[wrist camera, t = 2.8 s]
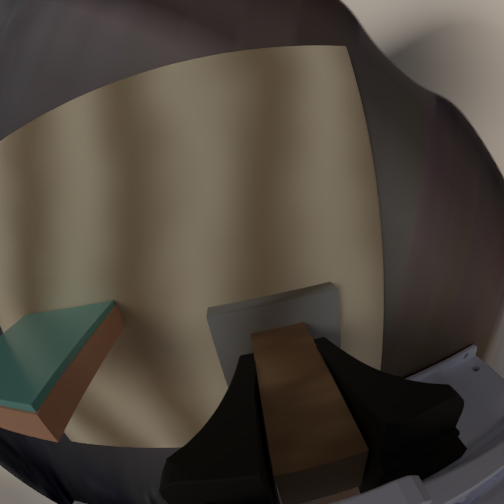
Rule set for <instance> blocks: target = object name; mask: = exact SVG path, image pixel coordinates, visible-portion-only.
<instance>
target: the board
mask: <svg viewBox="0 0 504 504" xmlns="http://www.w3.org/2000/svg"><path fill="white" fill-rule="evenodd" d="M326 282H331V283H332V284H333V285H334V286H335V287H336V288H337V289H338V300H339V315H340V334H341V349H342V350H343V351H345V352H346V353H348V354H349V355H351V356H353V357H354V358H356V359H358V360H359V361H361V362H363V363H365V364H367V365H369V366H371V367H373V368H375V369H378V370H381V358H382V343H383V318H384V274H383V249H382V233H381V221H380V210H379V201H378V192H377V184H376V177H375V170H374V163H373V157H372V151H371V146H370V140H369V135H368V130H367V125H366V120H365V115H364V111H363V107H362V102H361V98H360V94H359V90H358V86H357V82H356V79H355V75H354V72H353V68H352V65H351V61H350V58H349V55H348V51H347V48H346V46H288V47H273V48H261V49H252V50H244V51H236V52H230V53H223V54H217V55H212V56H207V57H202V58H197V59H192V60H188V61H183V62H179V63H175V64H171V65H167V66H164V67H160V68H157V69H153V70H150V71H147V72H143V73H140V74H137V75H134V76H131V77H128V78H125V79H122V80H120V81H117V82H114V83H111V84H109V85H106V86H104V87H101V88H99V89H96V90H94V91H91V92H89V93H87V94H85V95H82V96H80V97H78V98H76V99H74V100H71V101H69V102H67V103H65V104H63V105H61V106H59V107H57V108H55V109H53V110H51V111H49V112H48V113H46V114H44V115H42V116H40V117H38V118H37V119H35V120H33V121H31V122H30V123H28V124H26V125H25V126H23V127H21V128H20V129H18V130H17V131H15V132H13V133H12V134H10V135H9V136H7V137H6V138H4V139H3V140H1V141H0V326H1V328H2V331H3V333H4V332H5V331H6V330H8V329H9V328H10V327H11V326H12V325H14V324H15V323H16V322H17V321H18V320H20V319H21V318H22V317H23V316H25V315H26V314H32V313H39V312H45V311H52V310H58V309H64V308H71V307H77V306H83V305H89V304H95V303H100V302H106V301H112V300H113V301H114V304H115V305H118V308H119V310H120V313H121V316H122V318H123V321H124V324H125V327H124V328H123V330H122V332H121V333H120V335H119V336H118V338H117V340H116V341H115V343H114V344H113V346H112V348H111V349H110V351H109V353H108V354H107V356H106V357H105V359H104V361H103V362H102V364H101V366H100V367H99V369H98V371H97V373H96V374H95V376H94V378H93V379H92V381H91V383H90V385H89V386H88V388H87V390H86V392H85V393H84V395H83V397H82V399H81V401H80V402H79V404H78V406H77V408H76V410H75V411H74V413H73V415H72V417H71V419H70V421H69V423H68V425H67V426H66V428H65V430H64V433H65V434H66V435H67V436H68V438H69V439H70V440H71V441H73V442H80V443H88V444H96V445H107V446H120V447H144V448H168V447H183V446H184V445H186V444H187V443H188V442H189V441H190V440H191V439H192V438H193V437H194V436H195V435H196V434H197V433H198V432H199V431H200V430H201V429H202V427H203V426H204V425H205V424H206V423H207V421H208V420H209V419H210V417H211V416H212V415H213V413H214V412H215V410H216V409H217V407H218V406H219V404H220V402H221V401H222V399H223V397H224V395H225V393H226V391H227V389H228V386H227V383H226V380H225V377H224V374H223V371H222V368H221V364H220V361H219V358H218V355H217V352H216V348H215V345H214V342H213V338H212V335H211V332H210V328H209V325H208V322H207V318H206V315H207V309H208V307H213V306H219V305H224V304H229V303H234V302H239V301H244V300H249V299H254V298H259V297H264V296H269V295H273V294H278V293H283V292H287V291H292V290H296V289H301V288H305V287H309V286H314V285H318V284H322V283H326Z"/></svg>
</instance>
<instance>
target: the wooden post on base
mask: <svg viewBox="0 0 504 504" xmlns="http://www.w3.org/2000/svg"><path fill="white" fill-rule="evenodd" d="M206 318H207V322H208V325H209V328H210V332H211V335H212V338H213V342H214V345H215V348H216V352H217V355H218V358H219V361H220V364H221V368H222V371H223V374H224V377H225V380H226V383H227V386H228V387H229V385H230V383H231V380H232V378H233V375H234V373H235V370H236V367H237V363H238V359H239V357H240V356H241V355H245V354H250V353H254V359H255V362H256V372H257V378H258V385H259V391H260V397H261V403H262V409H263V416H264V422H265V428H266V434H267V440H268V446H269V452H270V457H271V463H272V469H273V475H274V478H275V481H276V484H277V487H278V490H279V493H280V496H281V499H282V502H283V504H297V503H302V502H306V501H311V500H315V499H319V498H322V497H326V496H330V495H333V494H336V493H340V492H343V491H346V490H349V489H352V488H355V487H358V486H361V482H362V478H363V474H364V470H365V466H366V461H367V456H368V452H369V449H368V447H367V445H366V443H365V441H364V439H363V437H362V435H361V433H360V431H359V429H358V427H357V425H356V423H355V421H354V419H353V417H352V415H351V413H350V411H349V409H348V407H347V405H346V403H345V401H344V399H343V397H342V395H341V393H340V391H339V389H338V387H337V385H336V383H335V381H334V379H333V377H332V375H331V373H330V371H329V369H328V367H327V365H326V363H325V361H324V360H323V358H322V356H321V354H320V352H319V351H318V349H317V348H316V347H317V346H316V344H315V342H314V340H313V339H317V338H321V337H325V338H327V339H328V340H329V341H331V342H332V343H333V344H335V345H336V346H338V347H339V348H340V349H341V334H340V315H339V300H338V289H337V288H336V287H335V286H334V285H333V284H332V283H331V282H326V283H322V284H318V285H314V286H309V287H305V288H301V289H296V290H292V291H287V292H283V293H278V294H273V295H269V296H264V297H259V298H254V299H249V300H244V301H239V302H234V303H229V304H224V305H219V306H213V307H208V309H207V315H206Z"/></svg>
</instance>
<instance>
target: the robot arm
mask: <svg viewBox="0 0 504 504" xmlns="http://www.w3.org/2000/svg"><path fill="white" fill-rule="evenodd" d="M313 340H314V342H315V344H316V346H317V347H316V348H317V349H318V351H319V352H320V354H321V356H322V358H323V360H324V361H325V363H326V365H327V367H328V369H329V371H330V373H331V375H332V377H333V379H334V381H335V383H336V385H337V387H338V389H339V391H340V393H341V395H342V397H343V399H344V401H345V403H346V405H347V407H348V409H349V411H350V413H351V415H352V417H353V419H354V421H355V423H356V425H357V427H358V429H359V431H360V433H361V435H362V437H363V439H364V441H365V443H366V445H367V447H368V449H369V452H368V456H367V461H366V466H365V470H364V474H363V478H362V482H361V486H358V487H359V490H360V494H358V495H356V496H353V497H350V498H346V499H343V500H340V501H337V502H333V503H330V504H504V379H503V378H502V377H501V376H500V375H499V374H497V373H496V372H495V371H494V370H493V369H492V368H491V367H489V366H488V365H487V364H486V363H485V362H484V361H482V360H481V359H480V358H479V357H478V356H476V351H477V346H476V345H474V344H473V345H471V346H469V347H468V348H466V349H464V350H462V351H461V352H459V353H457V354H455V355H453V356H451V357H449V358H448V359H446V360H444V361H442V362H440V363H438V364H436V365H434V366H432V367H429V368H427V369H425V370H423V371H421V372H419V373H417V374H414V375H412V376H410V377H407V378H405V379H404V378H400V377H397V376H393V375H391V374H388V373H385V372H382V371H380V370H378V369H375V368H373V367H371V366H369V365H367V364H365V363H363V362H361V361H359V360H358V359H356V358H354V357H353V356H351V355H349V354H348V353H346V352H345V351H343V350H342V349H340V348H339V347H338V346H336V345H335V344H333V343H332V342H331V341H329V340H328V339H327V338H325V337H321V338H317V339H313ZM159 491H160V495H161V496H162V497H163V499H164V500H166V501H167V502H168V503H169V504H280V502H279V497H278V493H277V488H276V483H275V478H274V475H273V469H272V463H271V457H270V452H269V446H268V440H267V434H266V428H265V422H264V416H263V409H262V403H261V397H260V391H259V385H258V378H257V372H256V362H255V359H254V353H250V354H245V355H241V356H240V357H239V359H238V363H237V367H236V370H235V373H234V375H233V378H232V380H231V383H230V385H229V387H228V389H227V391H226V393H225V395H224V397H223V399H222V401H221V402H220V404H219V406H218V407H217V409H216V410H215V412H214V413H213V415H212V416H211V417H210V419H209V420H208V421H207V423H206V424H205V425H204V426H203V427H202V429H201V430H200V431H199V432H198V433H197V434H196V435H195V436H194V437H193V438H192V439H191V440H190V441H189V442H188V443H187V444H186V445H184V446H183V447H182V448H181V449H179V450H178V451H177V452H175V453H174V454H173V455H171V456H170V457H168V458H167V459H166V462H165V465H164V468H163V471H162V476H161V482H160V489H159ZM73 504H86V503H82V502H78V501H74V503H73Z"/></svg>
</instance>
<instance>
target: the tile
mask: <svg viewBox="0 0 504 504" xmlns="http://www.w3.org/2000/svg"><path fill="white" fill-rule="evenodd" d="M124 327H125V324H124V321H123V318H122V316H121V313H120V310H119V308H118V305H115V304H114V301H113V300H112V301H106V302H100V303H95V304H89V305H83V306H77V307H71V308H64V309H58V310H52V311H45V312H39V313H32V314H26V315H25V316H23V317H22V318H21V319H20V320H18V321H17V322H16V323H15V324H14V325H12V326H11V327H10V328H9V329H8V330H6V331H5V332H4V333H3V334H2V335H1V336H0V427H1V428H4V429H7V430H10V431H14V432H17V433H21V434H24V435H28V436H32V437H36V438H40V439H45V440H50V441H54V442H59V440H60V438H61V436H62V434H63V432H64V430H65V428H66V426H67V425H68V423H69V421H70V419H71V417H72V415H73V413H74V411H75V410H76V408H77V406H78V404H79V402H80V401H81V399H82V397H83V395H84V393H85V392H86V390H87V388H88V386H89V385H90V383H91V381H92V379H93V378H94V376H95V374H96V373H97V371H98V369H99V367H100V366H101V364H102V362H103V361H104V359H105V357H106V356H107V354H108V353H109V351H110V349H111V348H112V346H113V344H114V343H115V341H116V340H117V338H118V336H119V335H120V333H121V332H122V330H123V328H124Z"/></svg>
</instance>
